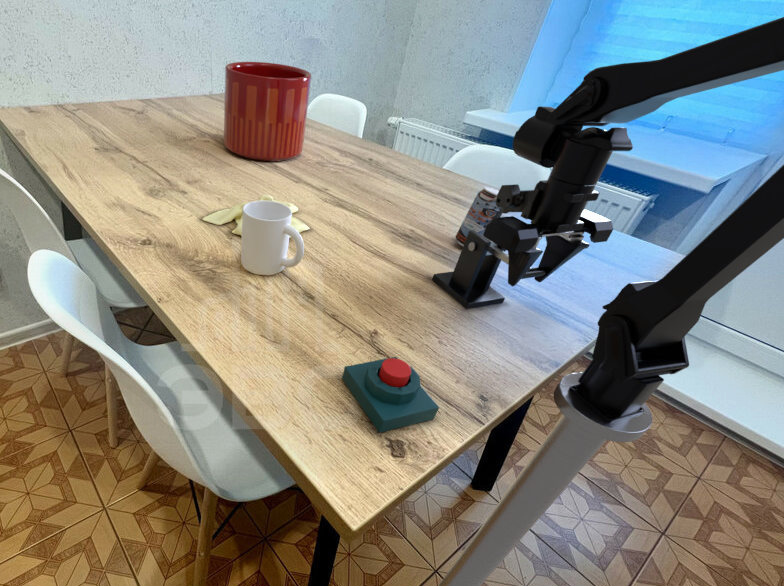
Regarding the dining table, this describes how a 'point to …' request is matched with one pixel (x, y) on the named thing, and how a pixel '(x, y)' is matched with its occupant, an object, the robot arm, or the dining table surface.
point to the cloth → (237, 214)
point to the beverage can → (479, 214)
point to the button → (395, 372)
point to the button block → (389, 397)
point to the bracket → (472, 274)
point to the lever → (504, 257)
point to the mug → (268, 238)
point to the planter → (265, 110)
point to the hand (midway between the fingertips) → (524, 282)
